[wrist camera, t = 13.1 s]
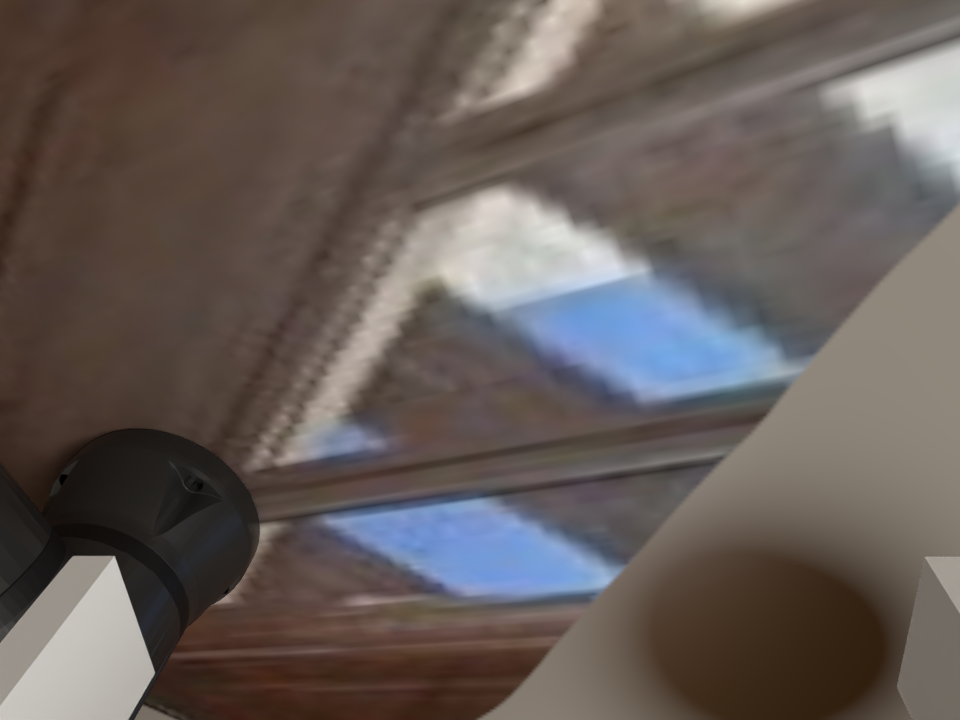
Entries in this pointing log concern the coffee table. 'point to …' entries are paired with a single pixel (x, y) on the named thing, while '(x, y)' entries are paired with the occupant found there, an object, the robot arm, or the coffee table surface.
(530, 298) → the coffee table surface
